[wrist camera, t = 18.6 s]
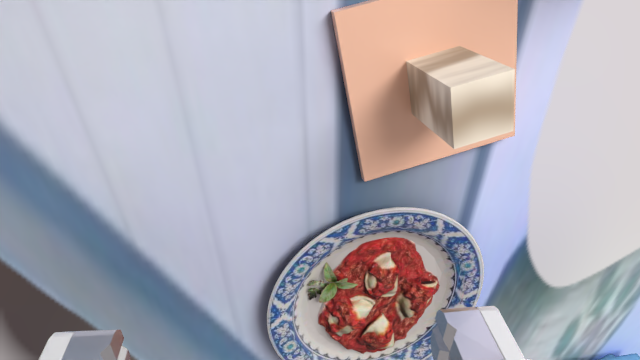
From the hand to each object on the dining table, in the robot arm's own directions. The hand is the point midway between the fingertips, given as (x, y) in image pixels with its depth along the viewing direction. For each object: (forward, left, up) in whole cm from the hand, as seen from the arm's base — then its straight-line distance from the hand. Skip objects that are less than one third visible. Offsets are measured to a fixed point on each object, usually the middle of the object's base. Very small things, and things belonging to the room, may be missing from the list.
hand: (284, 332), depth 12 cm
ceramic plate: (+30, +8, -29) cm, 43 cm away
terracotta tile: (+6, +17, -29) cm, 34 cm away
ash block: (+6, +17, -28) cm, 33 cm away
